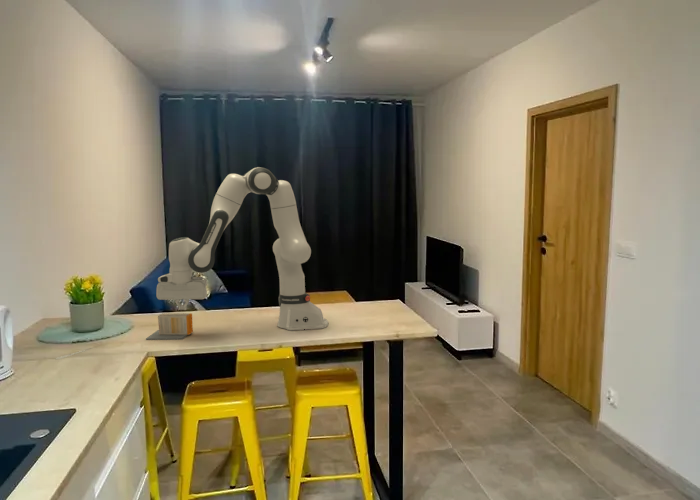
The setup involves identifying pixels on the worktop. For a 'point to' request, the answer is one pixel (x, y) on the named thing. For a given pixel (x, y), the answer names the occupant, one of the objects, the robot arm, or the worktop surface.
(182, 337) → the rubber mat
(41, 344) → the worktop surface
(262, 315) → the worktop surface
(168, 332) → the supplement box
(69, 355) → the butter knife
